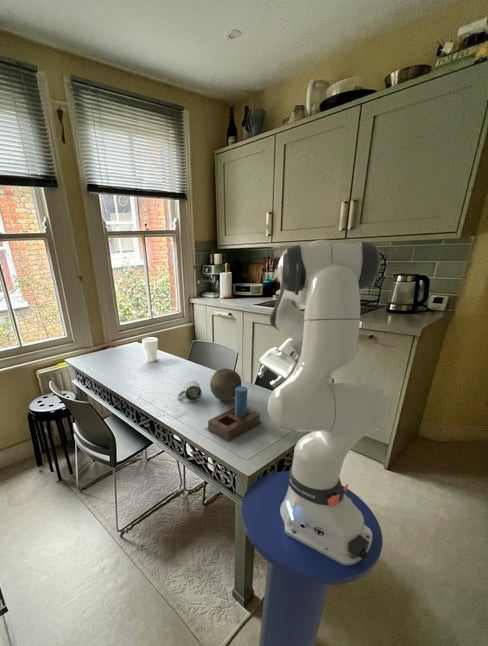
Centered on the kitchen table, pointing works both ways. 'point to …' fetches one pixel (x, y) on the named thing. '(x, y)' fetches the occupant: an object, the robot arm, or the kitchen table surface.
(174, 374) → the kitchen table surface
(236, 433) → the peg block
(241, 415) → the peg
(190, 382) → the ceramic mug
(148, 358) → the foam cup
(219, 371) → the cantaloupe
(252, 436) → the kitchen table surface
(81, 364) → the kitchen table surface
